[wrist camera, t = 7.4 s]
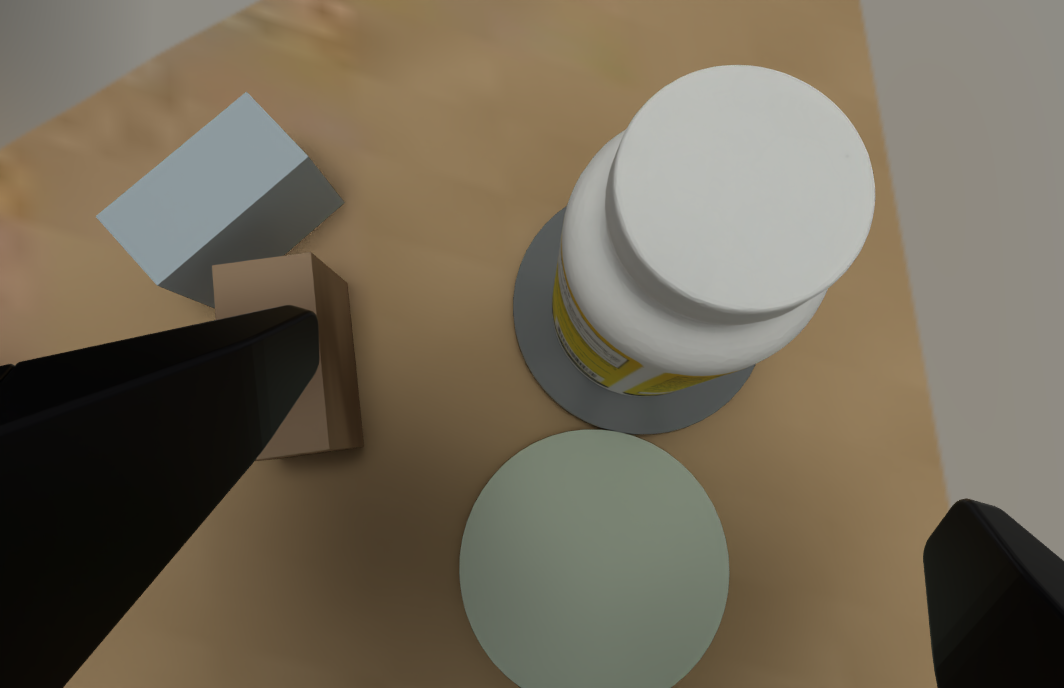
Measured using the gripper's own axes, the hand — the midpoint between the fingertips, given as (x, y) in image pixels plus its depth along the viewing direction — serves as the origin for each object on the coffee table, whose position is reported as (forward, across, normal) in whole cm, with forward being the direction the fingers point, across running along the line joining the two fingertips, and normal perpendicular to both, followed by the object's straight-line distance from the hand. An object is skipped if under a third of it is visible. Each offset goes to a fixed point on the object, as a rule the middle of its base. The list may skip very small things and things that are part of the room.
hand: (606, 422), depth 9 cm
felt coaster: (+8, -1, +12) cm, 14 cm away
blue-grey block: (+12, +14, +5) cm, 19 cm away
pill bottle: (+13, 0, +5) cm, 14 cm away
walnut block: (+9, +10, +8) cm, 16 cm away
